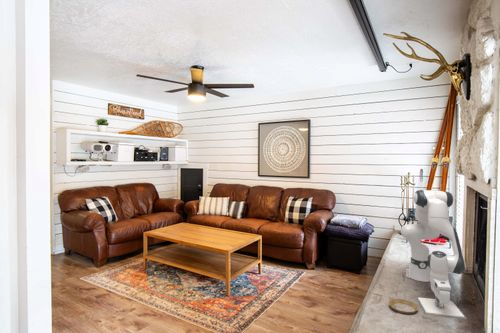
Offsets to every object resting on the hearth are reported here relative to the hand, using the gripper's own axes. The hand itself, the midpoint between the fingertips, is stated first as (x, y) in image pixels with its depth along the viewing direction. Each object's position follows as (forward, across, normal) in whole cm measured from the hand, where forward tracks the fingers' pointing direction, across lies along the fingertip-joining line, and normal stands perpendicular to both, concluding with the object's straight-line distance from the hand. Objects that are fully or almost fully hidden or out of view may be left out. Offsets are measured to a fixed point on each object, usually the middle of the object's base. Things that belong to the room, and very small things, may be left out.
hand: (439, 304), depth 166 cm
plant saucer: (+3, +6, -20) cm, 21 cm away
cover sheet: (+2, 0, 0) cm, 2 cm away
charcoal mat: (+2, 0, 0) cm, 2 cm away
